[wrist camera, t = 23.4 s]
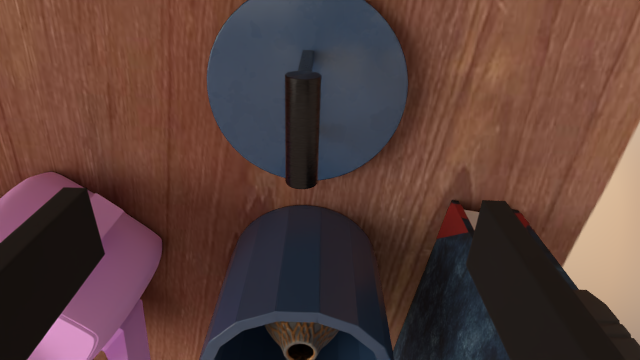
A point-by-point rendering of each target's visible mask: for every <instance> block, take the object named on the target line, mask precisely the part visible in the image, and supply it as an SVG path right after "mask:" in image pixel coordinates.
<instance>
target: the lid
mask: <svg viewBox="0 0 640 360" xmlns="http://www.w3.org/2000/svg"><path fill="white" fill-rule="evenodd" d="M207 91H208V97H209V102H210V106H211V109H212V112H213V115H214V117H215V120H216V122H217V124H218V126H219V128H220V129H221V131H222V133H223V134H224V136H225V137H226V139H227V140H228V141H229V142H230V144H231V145H232V146H233V147H234V148H235V149H236V150H237V151H238V152H239V153H240V154H241V155H242V156H243V157H244V158H246V159H247V160H248V161H250V162H251V163H253V164H254V165H256V166H257V167H259V168H261V169H263V170H265V171H267V172H269V173H272V174H275V175H278V176H281V177H284V178H286V183H287V185H288V186H290V187H292V188H296V189H308V188H312V187H314V186H315V185H316V184H317V182H318V180H324V179H330V178H334V177H338V176H341V175H344V174H346V173H349V172H351V171H353V170H355V169H357V168H359V167H361V166H362V165H364V164H365V163H367V162H368V161H369V160H371V159H372V158H373V157H374V156H375V155H376V154H378V153H379V152H380V151H381V150H382V148H383V147H384V146H385V145H386V144H387V143H388V141H389V140H390V138H391V137H392V135H393V134H394V132H395V131H396V129H397V127H398V125H399V123H400V121H401V118H402V115H403V112H404V109H405V104H406V100H407V91H408V74H407V66H406V61H405V57H404V54H403V51H402V48H401V45H400V43H399V41H398V39H397V37H396V35H395V33H394V31H393V30H392V28H391V27H390V25H389V24H388V23H387V21H386V20H385V19H384V18H383V17H382V16H381V14H380V13H379V12H378V11H377V10H376V9H375V8H374V7H372V6H371V5H370V4H369V3H367V2H366V1H365V0H248V1H246V2H245V3H243V4H242V5H241V6H240V7H239V8H238V9H237V10H236V11H235V12H234V13H233V14H232V15H231V16H230V17H229V18H228V20H227V21H226V22H225V24H224V25H223V26H222V28H221V30H220V32H219V34H218V35H217V37H216V39H215V42H214V44H213V47H212V50H211V53H210V57H209V62H208V70H207Z"/></svg>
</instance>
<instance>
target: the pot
mask: <svg viewBox="0 0 640 360" xmlns="http://www.w3.org/2000/svg"><path fill="white" fill-rule="evenodd" d="M277 321H284V322H315V323H319V324H322V325H325V326H328V327H331V328H334V329H337V330H339V331H338V333H337V334H336V336H335V337H334V338H333V339H332V340H331V341H330V342H329V343H328V344H327V345H326V346H324V347H323V348H322V349H321V350H320V352H319V354H318V356H317V357H316V359H315V360H394V356H393V351H392V345H391V339H390V333H389V328H388V322H387V316H386V310H385V304H384V299H383V293H382V287H381V281H380V275H379V270H378V264H377V259H376V257H375V254H374V250H373V247H372V244H371V242H370V240H369V238H368V237H367V236H366V234H365V233H364V231H363V230H362V229H361V228H360V227H359V226H358V225H357V224H355V223H354V222H353V221H352V220H350V219H349V218H347V217H345V216H344V215H342V214H340V213H337V212H335V211H332V210H329V209H326V208H322V207H317V206H307V205H299V206H289V207H283V208H279V209H276V210H273V211H271V212H268V213H266V214H264V215H262V216H260V217H259V218H257V219H256V220H255V221H253V222H252V223H251V224H250V225H249V226H248V227H247V228H246V229H245V230H244V231H243V233H242V234H241V235H240V237H239V239H238V241H237V244H236V247H235V249H234V251H233V253H232V256H231V259H230V262H229V265H228V269H227V272H226V275H225V278H224V281H223V285H222V288H221V291H220V294H219V297H218V301H217V304H216V307H215V310H214V313H213V316H212V320H211V323H210V326H209V329H208V332H207V336H206V339H205V342H204V345H203V348H202V351H201V355H200V358H199V360H287V359H286V358H285V356H284V354H283V351H282V349H281V347H280V346H279V345H278V344H277V343H276V342H275V340H274V339H273V338H272V337H271V336H270V334H269V333H268V331H267V329H266V327H265V325H266V324H270V323H274V322H277Z"/></svg>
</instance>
